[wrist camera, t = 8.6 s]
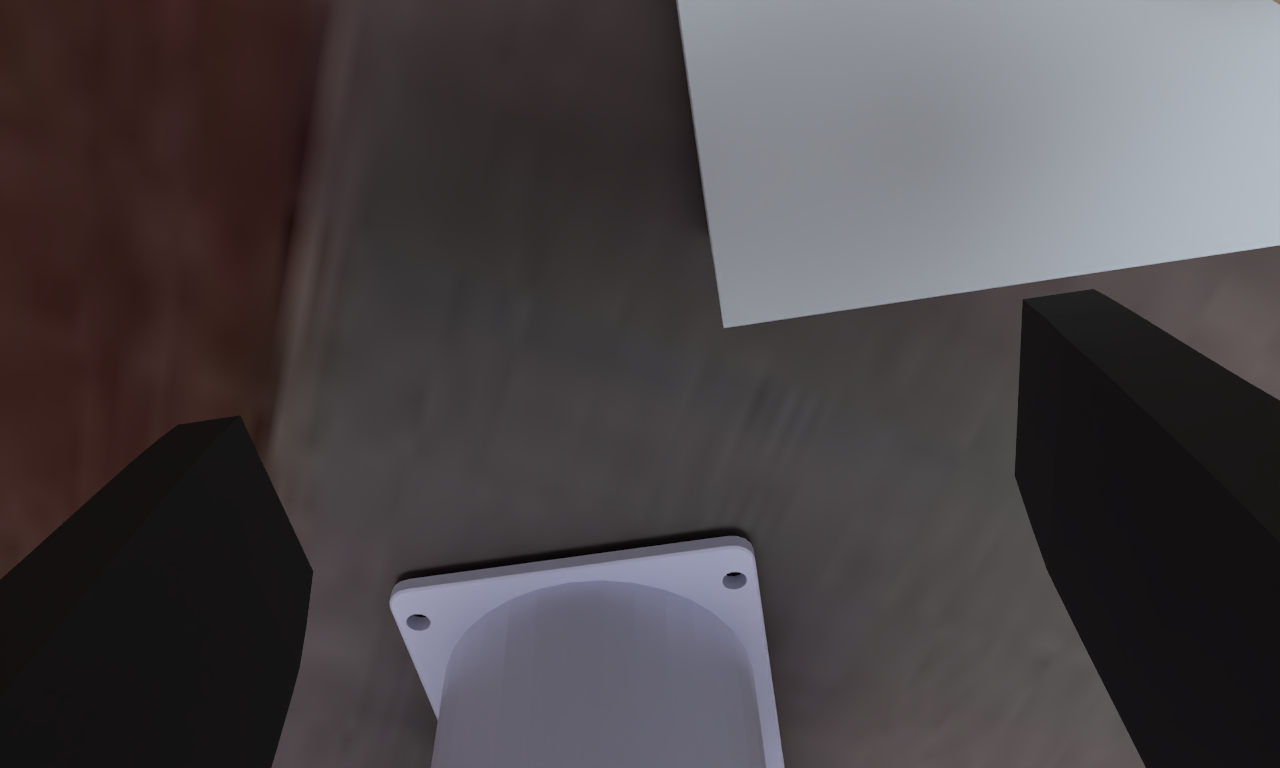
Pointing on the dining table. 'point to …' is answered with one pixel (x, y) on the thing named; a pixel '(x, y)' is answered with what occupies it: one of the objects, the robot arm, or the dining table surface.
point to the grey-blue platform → (974, 142)
